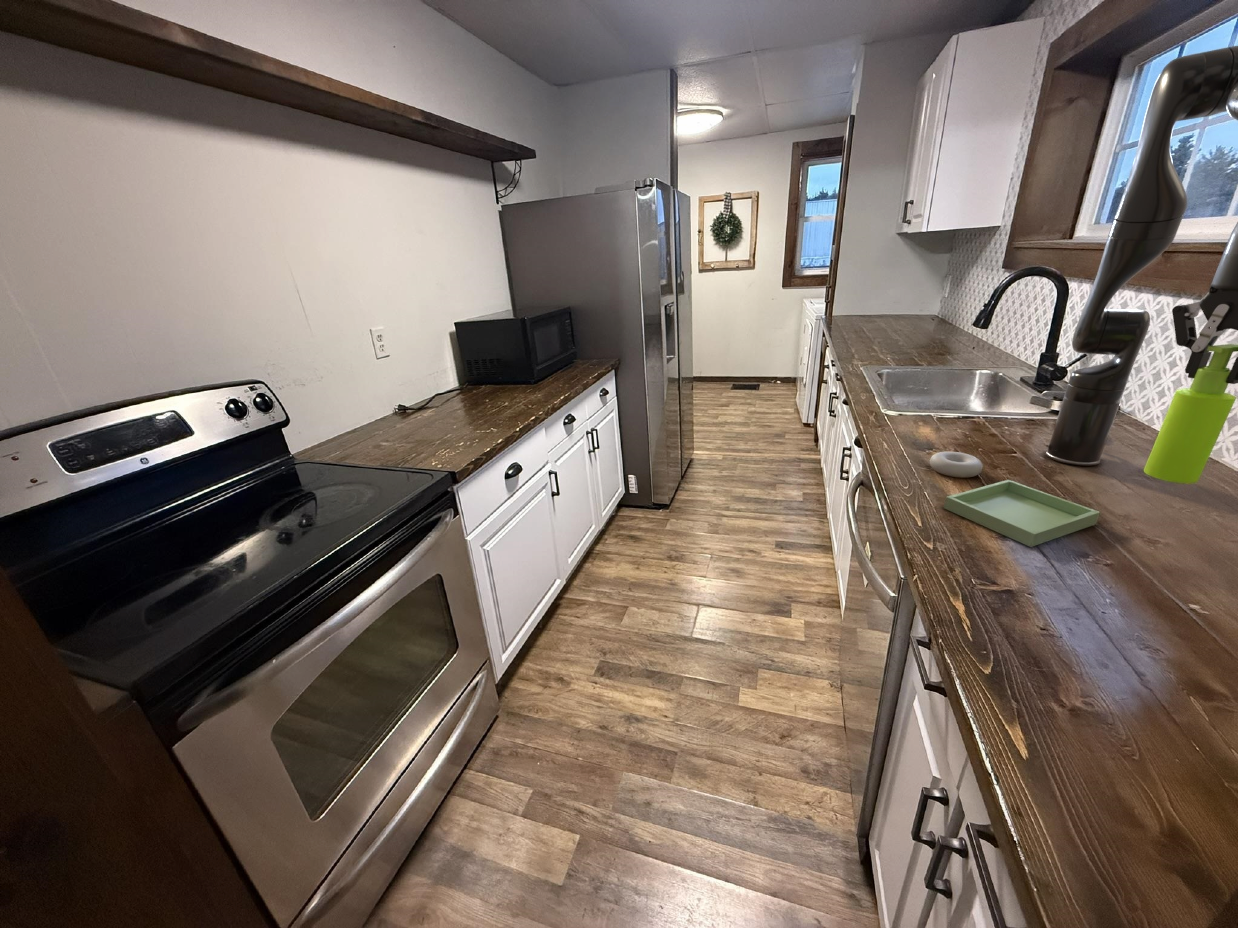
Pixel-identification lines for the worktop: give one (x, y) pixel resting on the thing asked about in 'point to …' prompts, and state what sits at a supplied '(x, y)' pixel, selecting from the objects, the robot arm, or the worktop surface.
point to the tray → (1021, 512)
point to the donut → (956, 464)
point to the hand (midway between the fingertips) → (1213, 379)
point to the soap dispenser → (1193, 422)
